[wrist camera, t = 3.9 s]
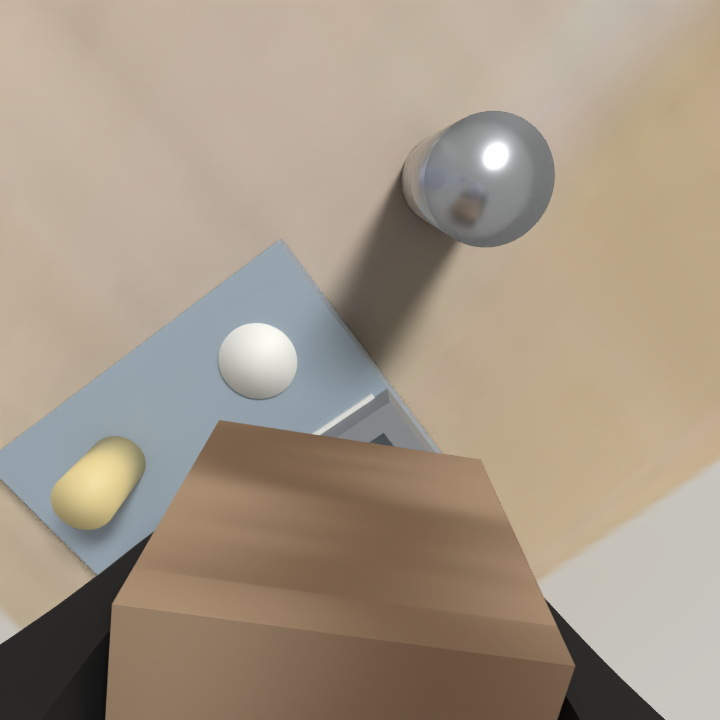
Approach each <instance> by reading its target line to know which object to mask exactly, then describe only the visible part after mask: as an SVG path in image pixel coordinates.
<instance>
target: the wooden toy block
mask: <svg viewBox="0 0 720 720" xmlns="http://www.w3.org/2000/svg"><path fill="white" fill-rule="evenodd" d="M574 669H575V664H574V662H573V660H572V658H571V655H570V653H569V651H568V649H567V647H566V645H565V642H564V640H563V638H562V636H561V634H560V631H559V629H558V627H557V625H556V623H555V621H554V618H553V616H552V614H551V612H550V610H549V608H548V605H547V603H546V601H545V599H544V597H543V595H542V592H541V590H540V588H539V586H538V584H537V581H536V579H535V577H534V575H533V573H532V571H531V568H530V566H529V564H528V562H527V560H526V557H525V555H524V553H523V551H522V549H521V547H520V544H519V542H518V540H517V538H516V536H515V534H514V531H513V529H512V527H511V525H510V523H509V520H508V518H507V516H506V514H505V512H504V510H503V507H502V505H501V503H500V501H499V499H498V497H497V494H496V492H495V490H494V488H493V486H492V483H491V481H490V479H489V477H488V475H487V473H486V470H485V468H484V466H483V464H482V462H481V460H479V459H472V458H466V457H459V456H453V455H446V454H440V453H433V452H427V451H420V450H413V449H407V448H400V447H394V446H387V445H381V444H374V443H367V442H361V441H354V440H348V439H341V438H335V437H328V436H322V435H315V434H308V433H302V432H295V431H289V430H282V429H276V428H269V427H263V426H256V425H249V424H243V423H236V422H230V421H223V420H219V421H218V423H217V425H216V426H215V428H214V430H213V432H212V433H211V435H210V437H209V438H208V440H207V442H206V444H205V445H204V447H203V449H202V450H201V452H200V454H199V456H198V457H197V459H196V461H195V462H194V464H193V466H192V468H191V469H190V471H189V473H188V474H187V476H186V478H185V480H184V481H183V483H182V485H181V487H180V488H179V490H178V492H177V493H176V495H175V497H174V499H173V500H172V502H171V504H170V505H169V507H168V509H167V511H166V512H165V514H164V516H163V517H162V519H161V521H160V523H159V524H158V526H157V528H156V529H155V531H154V533H153V535H152V536H151V538H150V540H149V541H148V543H147V545H146V547H145V548H144V550H143V552H142V554H141V555H140V557H139V559H138V560H137V562H136V564H135V566H134V567H133V569H132V571H131V572H130V574H129V576H128V578H127V579H126V581H125V583H124V584H123V586H122V588H121V590H120V591H119V593H118V595H117V596H116V598H115V600H114V602H113V603H112V613H111V630H110V648H109V665H108V682H107V699H106V716H105V720H557V719H558V716H559V713H560V710H561V707H562V704H563V701H564V698H565V695H566V692H567V689H568V686H569V683H570V680H571V678H572V675H573V672H574Z"/></svg>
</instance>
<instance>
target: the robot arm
mask: <svg viewBox="0 0 720 720" xmlns="http://www.w3.org/2000/svg"><path fill="white" fill-rule="evenodd" d="M153 533H154V532H152V533H151V534H150V535H148V536H147V537H146V538H144V539H143V540H142V541H140V542H139V543H138V544H136V545H135V546H134V547H133V548H131V549H130V550H129V551H128V552H126V553H125V554H124V555H123V556H121V557H120V558H119V559H118V560H116V561H115V562H114V563H112V564H111V565H110V566H109V567H107V568H106V569H105V570H104V571H102V572H101V573H100V574H98V575H97V576H96V577H95V578H93V579H92V580H91V581H89V582H88V583H87V584H85V585H84V586H83V587H81V588H80V589H79V590H77V591H76V592H75V593H73V594H72V595H71V596H69V597H68V598H67V599H65V600H64V601H63V602H61V603H60V604H59V605H57V606H56V607H54V608H53V609H52V610H50V611H49V612H47V613H46V614H44V615H43V616H41V617H40V618H39V619H37V620H36V621H34V622H33V623H31V624H30V625H28V626H27V627H25V628H24V629H23V630H21V631H20V632H18V633H17V634H15V635H14V636H12V637H11V638H9V639H8V640H6V641H5V642H3V643H2V644H0V720H105V716H106V699H107V682H108V665H109V648H110V630H111V613H112V603H113V602H114V600H115V598H116V596H117V595H118V593H119V591H120V590H121V588H122V586H123V584H124V583H125V581H126V579H127V578H128V576H129V574H130V572H131V571H132V569H133V567H134V566H135V564H136V562H137V560H138V559H139V557H140V555H141V554H142V552H143V550H144V548H145V547H146V545H147V543H148V541H149V540H150V538H151V536H152V535H153ZM544 599H545V598H544ZM545 601H546V603H547V605H548V608H549V610H550V612H551V614H552V616H553V618H554V621H555V623H556V625H557V627H558V629H559V631H560V634H561V636H562V638H563V640H564V642H565V645H566V647H567V649H568V651H569V653H570V655H571V658H572V660H573V662H574V664H575V669H574V672H573V675H572V678H571V680H570V683H569V686H568V689H567V692H566V695H565V698H564V701H563V704H562V707H561V710H560V713H559V716H558V719H557V720H665V719H664V718H663V717H662V716H661V715H659V714H658V713H657V712H656V711H655V710H654V709H653V708H652V707H651V706H650V705H649V704H648V703H647V702H646V701H644V700H643V699H642V698H641V697H640V696H639V695H638V694H637V693H636V692H635V691H634V690H633V689H632V688H631V687H630V686H629V685H628V684H626V683H625V682H624V681H623V680H622V679H621V678H620V677H619V676H618V675H617V674H616V673H615V672H614V671H613V670H612V669H611V668H610V667H609V666H608V665H607V664H606V663H605V662H604V661H603V660H602V659H601V658H600V657H599V656H598V655H597V654H596V653H595V651H594V650H593V649H591V647H590V646H589V645H588V644H587V643H586V642H585V641H584V640H583V639H582V638H581V637H580V636H579V635H578V634H577V633H576V632H575V631H574V630H573V628H572V627H571V626H570V625H569V624H568V623H567V622H566V621H565V620H564V619H563V618H562V617H561V616H560V614H559V613H558V612H557V611H556V610H555V609H554V608H553V607H552V606H551V605H550V603H549V602H548V601H547V600H546V599H545Z"/></svg>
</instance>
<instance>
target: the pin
mask: <svg viewBox="0 0 720 720" xmlns="http://www.w3.org/2000/svg"><path fill="white" fill-rule="evenodd" d="M554 178H555V171H554V162H553V157H552V154H551V151H550V148H549V146H548V144H547V142H546V140H545V139H544V137H543V136H542V134H541V133H540V132H539V131H538V130H537V129H536V128H535V127H534V126H533V125H532V124H531V123H529V122H528V121H526V120H525V119H523V118H521V117H519V116H517V115H514V114H511V113H507V112H501V111H486V112H480V113H476V114H473V115H470V116H468V117H466V118H464V119H462V120H460V121H458V122H456V123H454V124H452V125H450V126H449V127H447V128H445V129H443V130H441V131H439V132H438V133H436V134H434V135H432V136H430V137H428V138H426V139H425V140H423V141H422V142H420V143H419V144H418V145H417V146H416V147H415V148H414V149H413V150H412V151H411V153H410V154H409V156H408V158H407V160H406V162H405V164H404V167H403V171H402V191H403V194H404V197H405V200H406V202H407V204H408V205H409V207H410V208H411V209H412V211H413V212H414V213H415V214H416V215H418V216H419V217H420V218H422V219H423V220H425V221H426V222H428V223H430V224H431V225H433V226H434V227H436V228H438V229H439V230H441V231H442V232H444V233H446V234H447V235H449V236H450V237H452V238H454V239H456V240H457V241H459V242H462V243H464V244H467V245H471V246H475V247H495V246H500V245H503V244H507V243H509V242H512V241H514V240H516V239H518V238H519V237H521V236H523V235H524V234H525V233H526V232H528V231H529V230H530V229H531V228H532V227H533V226H534V225H535V224H536V223H537V222H538V220H539V219H540V218H541V216H542V215H543V213H544V212H545V210H546V208H547V206H548V204H549V202H550V199H551V195H552V192H553V187H554Z"/></svg>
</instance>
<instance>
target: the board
mask: <svg viewBox="0 0 720 720" xmlns="http://www.w3.org/2000/svg"><path fill="white" fill-rule="evenodd" d="M219 420H223V421H230V422H236V423H243V424H249V425H256V426H263V427H269V428H276V429H282V430H289V431H295V432H302V433H308V434H315V435H322V436H328V437H335V438H341V439H348V440H354V441H361V442H367V443H374V444H381V445H387V446H394V447H400V448H407V449H413V450H420V451H427V452H433V453H440V454H442V453H441V451H440V450H439V448H438V447H437V446H436V444H435V443H434V442H433V440H432V439H431V438H430V436H429V435H428V434H427V432H426V431H425V430H424V428H423V427H422V426H421V424H420V423H419V422H418V420H417V419H416V418H415V416H414V415H413V414H412V412H411V411H410V410H409V408H408V407H407V406H406V404H405V403H404V402H403V400H402V399H401V398H400V396H399V395H398V394H397V392H396V391H395V390H394V388H393V387H392V386H391V384H390V383H389V382H388V380H387V379H386V378H385V376H384V375H383V374H382V372H381V371H380V370H379V368H378V367H377V366H376V364H375V363H374V362H373V360H372V359H371V358H370V356H369V355H368V354H367V352H366V351H365V349H364V348H363V347H362V345H361V344H360V343H359V341H358V340H357V339H356V337H355V336H354V335H353V333H352V332H351V331H350V329H349V328H348V327H347V325H346V324H345V323H344V321H343V320H342V319H341V317H340V316H339V315H338V313H337V312H336V311H335V309H334V308H333V307H332V305H331V304H330V303H329V301H328V300H327V299H326V297H325V296H324V295H323V293H322V292H321V291H320V289H319V288H318V287H317V285H316V284H315V283H314V281H313V280H312V279H311V277H310V276H309V275H308V273H307V272H306V271H305V269H304V268H303V267H302V265H301V264H300V263H299V261H298V260H297V259H296V257H295V256H294V255H293V253H292V252H291V250H290V249H289V248H288V246H287V245H286V244H285V242H284V241H283V240H282V238H281V239H280V240H279V241H277V242H276V243H275V244H273V245H272V246H271V247H269V248H268V249H267V250H265V251H264V252H263V253H261V254H260V255H259V256H257V257H256V258H255V259H253V260H252V261H251V262H249V263H248V264H247V265H245V266H244V267H243V268H241V269H240V270H239V271H238V272H236V273H235V274H234V275H232V276H231V277H230V278H228V279H227V280H226V281H224V282H223V283H222V284H220V285H219V286H218V287H216V288H215V289H214V290H212V291H211V292H210V293H208V294H207V295H206V296H204V297H203V298H202V299H200V300H199V301H198V302H196V303H195V304H194V305H192V306H191V307H190V308H189V309H187V310H186V311H185V312H183V313H182V314H181V315H179V316H178V317H177V318H175V319H174V320H173V321H171V322H170V323H169V324H167V325H166V326H165V327H163V328H162V329H161V330H159V331H158V332H157V333H155V334H154V335H153V336H151V337H150V338H149V339H147V340H146V341H145V342H143V343H142V344H141V345H139V346H138V347H137V348H136V349H134V350H133V351H132V352H130V353H129V354H128V355H126V356H125V357H124V358H122V359H121V360H120V361H118V362H117V363H116V364H114V365H113V366H112V367H110V368H109V369H108V370H106V371H105V372H104V373H102V374H101V375H100V376H98V377H97V378H96V379H94V380H93V381H92V382H90V383H89V384H88V385H86V386H85V387H84V388H83V389H81V390H80V391H79V392H77V393H76V394H75V395H73V396H72V397H71V398H69V399H68V400H67V401H65V402H64V403H63V404H61V405H60V406H59V407H57V408H56V409H55V410H53V411H52V412H51V413H49V414H48V415H47V416H45V417H44V418H43V419H41V420H40V421H39V422H37V423H36V424H35V425H34V426H32V427H31V428H30V429H28V430H27V431H26V432H24V433H23V434H22V435H20V436H19V437H18V438H16V439H15V440H14V441H12V442H11V443H10V444H8V445H7V446H6V447H4V448H3V449H2V450H0V479H1V480H2V481H3V482H4V483H5V484H6V485H7V486H8V487H9V488H10V489H11V490H12V491H13V492H14V493H15V494H16V495H17V496H18V497H19V498H20V499H21V500H22V501H23V502H24V503H25V504H26V505H27V506H28V507H29V508H30V509H31V510H32V511H33V512H34V513H35V514H36V515H37V516H38V517H39V518H40V519H41V520H42V521H43V522H44V523H45V524H46V525H47V526H48V527H49V528H50V529H51V530H52V531H53V532H54V533H55V534H56V535H57V536H58V537H60V538H61V539H62V540H63V541H64V542H65V543H66V544H67V545H68V546H69V547H70V548H71V549H72V550H73V551H74V552H75V553H76V554H77V555H78V556H79V557H80V558H81V559H82V560H83V561H84V562H85V563H86V564H87V565H88V566H89V567H90V568H91V569H92V570H93V571H94V572H95V573H96V574H97V575H98V574H100V573H101V572H102V571H104V570H105V569H106V568H107V567H109V566H110V565H111V564H112V563H114V562H115V561H116V560H118V559H119V558H120V557H121V556H123V555H124V554H125V553H126V552H128V551H129V550H130V549H131V548H133V547H134V546H135V545H136V544H138V543H139V542H140V541H142V540H143V539H144V538H146V537H147V536H148V535H150V534H151V533H152V532H154V531H155V529H156V528H157V526H158V524H159V523H160V521H161V519H162V517H163V516H164V514H165V512H166V511H167V509H168V507H169V505H170V504H171V502H172V500H173V499H174V497H175V495H176V493H177V492H178V490H179V488H180V487H181V485H182V483H183V481H184V480H185V478H186V476H187V474H188V473H189V471H190V469H191V468H192V466H193V464H194V462H195V461H196V459H197V457H198V456H199V454H200V452H201V450H202V449H203V447H204V445H205V444H206V442H207V440H208V438H209V437H210V435H211V433H212V432H213V430H214V428H215V426H216V425H217V423H218V421H219Z"/></svg>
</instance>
